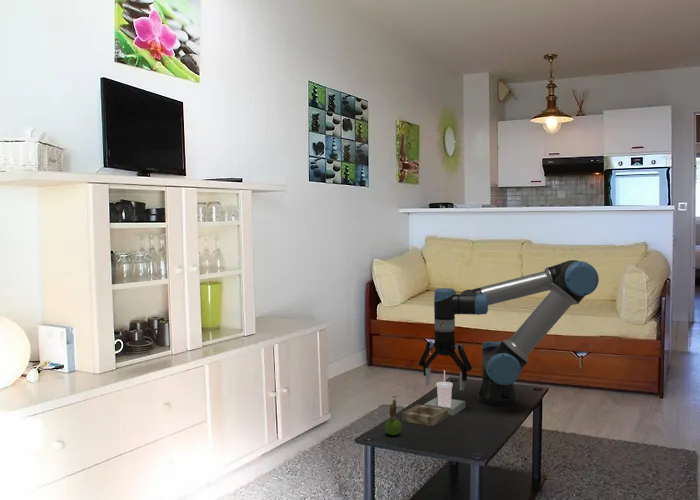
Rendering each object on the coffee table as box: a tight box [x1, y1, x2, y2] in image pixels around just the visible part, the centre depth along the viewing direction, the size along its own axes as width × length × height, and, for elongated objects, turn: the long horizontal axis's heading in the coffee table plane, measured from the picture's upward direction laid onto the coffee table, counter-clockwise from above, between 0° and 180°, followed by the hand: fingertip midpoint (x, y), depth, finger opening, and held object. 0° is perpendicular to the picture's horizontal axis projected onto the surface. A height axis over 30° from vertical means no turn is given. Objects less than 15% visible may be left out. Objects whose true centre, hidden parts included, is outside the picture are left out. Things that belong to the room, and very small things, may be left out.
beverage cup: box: [435, 369, 454, 407], centre depth 237 cm, size 6×6×14 cm
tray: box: [423, 396, 466, 416], centre depth 237 cm, size 12×12×2 cm
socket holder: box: [401, 404, 449, 427], centre depth 225 cm, size 12×12×3 cm
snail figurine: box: [384, 395, 402, 436], centre depth 209 cm, size 5×6×12 cm
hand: (444, 387), depth 237 cm, fingers open, 13 cm apart
